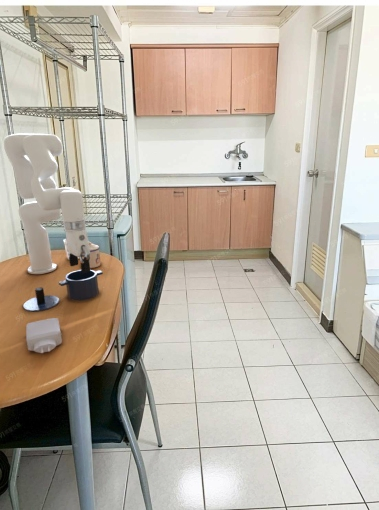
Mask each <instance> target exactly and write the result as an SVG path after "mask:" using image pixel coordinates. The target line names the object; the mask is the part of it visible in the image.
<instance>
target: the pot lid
mask: <svg viewBox="0 0 379 510" xmlns="http://www.w3.org/2000/svg"><path fill="white" fill-rule="evenodd" d="M34 292H35V297H32V298H30V299H28V300H26V301H25V302H24V303H23V304H22V306H23V309H24V311H27V312H32V313H33V312H36V313H37V312H42V311H47V310H50V309H52V308H55V307H56V306H57V305H58V304H59V303H60V298H59V297H58V296H56V295H51V294H50V295H48V294H46V295H45V290H44V287H42V286H39V287H36V288H35V289H34Z"/></svg>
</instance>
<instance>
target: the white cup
mask: <svg viewBox="0 0 379 510" xmlns="http://www.w3.org/2000/svg"><path fill="white" fill-rule="evenodd" d="M63 245H64V251H65V254H66V259H67V260H68V261H69V255H68V253H69V252H68V251H67V245H66V238H64V239H63ZM78 260H80V258H79V257H78Z"/></svg>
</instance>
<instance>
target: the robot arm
mask: <svg viewBox="0 0 379 510" xmlns="http://www.w3.org/2000/svg"><path fill="white" fill-rule="evenodd" d="M3 147H4V150H5V154H6V157H7V158H8V160H9V162H10V164H11V166H12V169H13V175H14V177H15V184H16V188H17V192H18V195H19V197H20V198H21V199H23V200H34V199H35V201H30V202H26V203H23V204H21V205H20V206H19V208H18V216H19V220H20V221H21V224H22V227H23V232H24V238H25V242H26V248H27V254H28V259H29V264H30V266H28V268H27V273H29V274H31V275H43V274H48V273H51V272H54V271H55V270H56V269H57V268H58V267H57V264H56V263H54V262H53V257H52V250H51V244H50V239H49V232H48V231H47V229H46V228H45V227H44V226H43V225H42V223H48V222H53V221H58V220H59V219H60V218H61V217H62V223H63V230H64V231H65V239H66V245H67V251H68V252H69V253H68V255H69V260H68V261H69V266H70V267H75V266H78V265H79V261H80V270H81V271H82V273H86V272H90V270H91V268H90V263H89V262H90V260H89V259H90V247H89V242H90V241H89V236H88V233H87V229H86V228H87V227H86V218H85V209H84V199H83V193H82V192H81V191H80V190H79V189H74V188H73V187H69V186H66V187H65V186H64V187H57V183H56V181H55V180H54V178H53V177H52V176H53V175H55V174H56V173H57V171H58V169H59V165H58V162H57V161H56V159H55V157H60V156H61V155H62V154H63V151H64V146H63V142H62V141H61V139H60V138H59V136H57V135H56V134H52V133H51V134H49V133H14V134H9V135H6V137H5V138H4V140H3ZM81 254H82V255H81ZM84 256H85V257H84ZM78 257H79V258H80V259H78ZM82 257H84V259H83V258H82Z"/></svg>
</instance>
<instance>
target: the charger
mask: <svg viewBox="0 0 379 510" xmlns="http://www.w3.org/2000/svg"><path fill="white" fill-rule="evenodd" d="M25 329H26V332H25V335H26V336H25V337H26V340H25V341H26V346H27V350H28V351H30V352H35V353H38V354H39V353H40V354H44V353H47V352H48V353H49V352H51V351H52V350H53V349H55V348H56V347H57V346H60V345H61V344H62V343H63V339H62V338H63V337H62V332H61V327H60V320H59V318H57V317H52V318H51V317H50V318H47V319H46V318H45V319H42V320H36V321H31V322H28V323H27V324H26V325H25Z"/></svg>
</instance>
